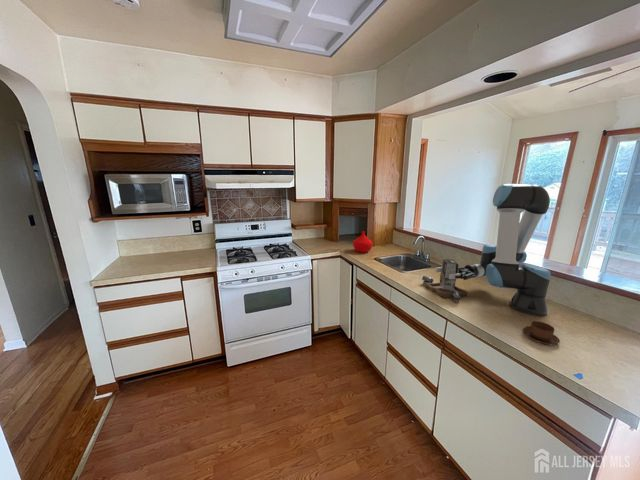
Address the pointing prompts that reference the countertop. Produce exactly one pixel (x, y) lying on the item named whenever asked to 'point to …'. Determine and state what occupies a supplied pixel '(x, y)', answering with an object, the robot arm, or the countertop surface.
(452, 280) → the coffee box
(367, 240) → the vase
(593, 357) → the countertop surface
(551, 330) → the cup and saucer
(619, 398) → the countertop surface
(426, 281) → the shaft
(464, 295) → the coupling cradle
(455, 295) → the shaft
